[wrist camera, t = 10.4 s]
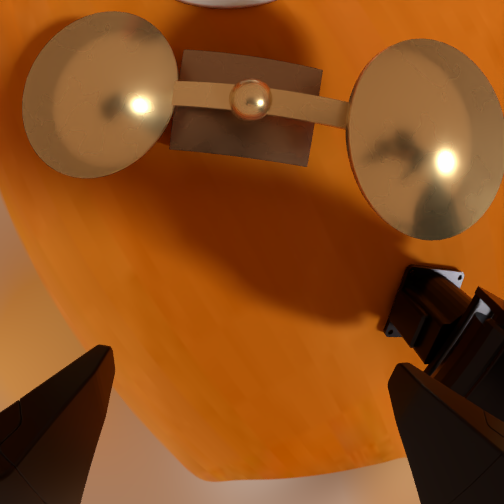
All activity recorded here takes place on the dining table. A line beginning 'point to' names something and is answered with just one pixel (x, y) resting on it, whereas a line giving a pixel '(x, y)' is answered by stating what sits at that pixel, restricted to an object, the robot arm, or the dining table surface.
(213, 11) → the dining table surface
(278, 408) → the dining table surface
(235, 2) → the dish
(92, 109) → the balance
